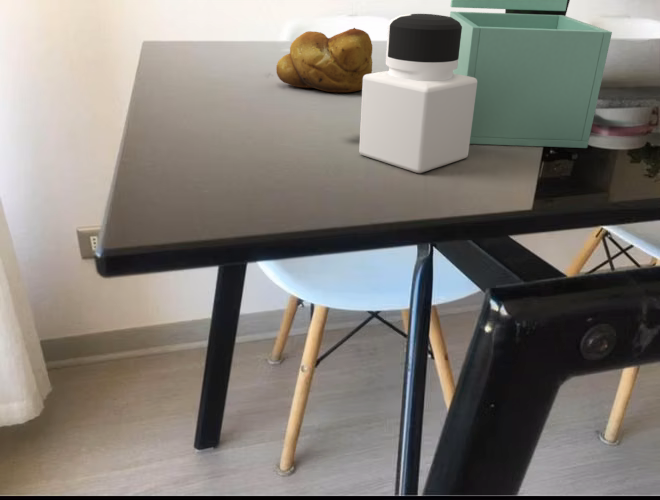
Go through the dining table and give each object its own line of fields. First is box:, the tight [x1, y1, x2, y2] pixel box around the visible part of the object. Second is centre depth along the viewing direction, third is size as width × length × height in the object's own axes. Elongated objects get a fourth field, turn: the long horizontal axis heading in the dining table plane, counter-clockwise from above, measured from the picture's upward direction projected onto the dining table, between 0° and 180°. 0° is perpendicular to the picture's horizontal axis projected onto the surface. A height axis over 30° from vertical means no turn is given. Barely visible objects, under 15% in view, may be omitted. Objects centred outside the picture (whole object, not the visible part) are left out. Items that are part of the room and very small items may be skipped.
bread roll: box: [275, 27, 373, 93], centre depth 81 cm, size 13×10×8 cm
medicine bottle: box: [358, 13, 477, 174], centre depth 54 cm, size 7×7×12 cm
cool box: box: [449, 11, 613, 149], centre depth 65 cm, size 14×12×11 cm
